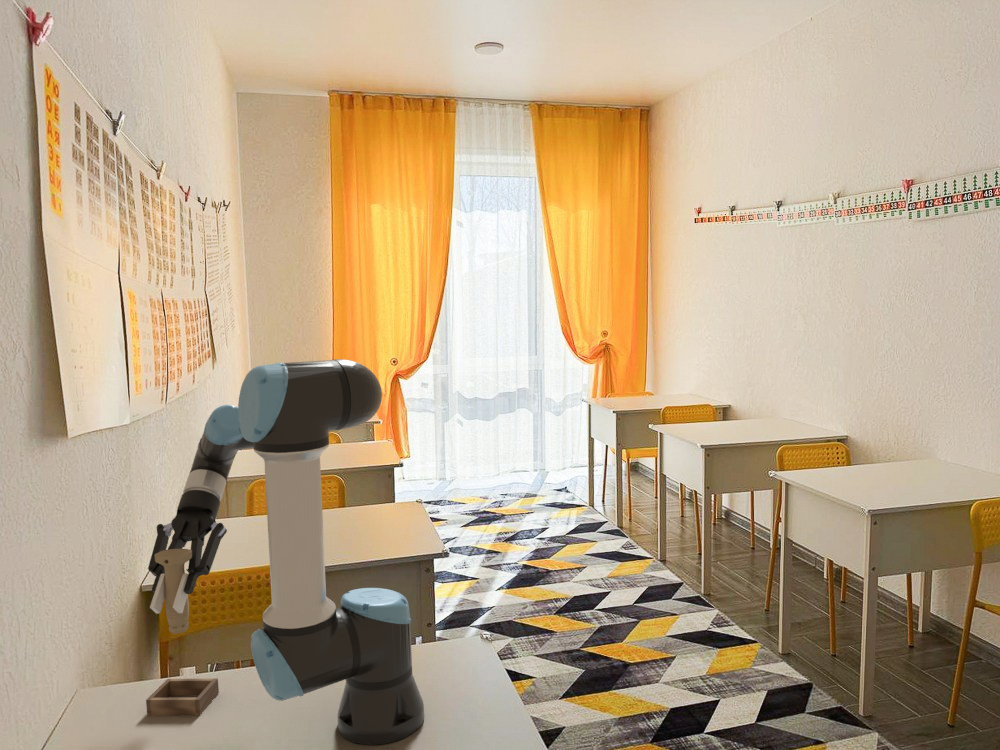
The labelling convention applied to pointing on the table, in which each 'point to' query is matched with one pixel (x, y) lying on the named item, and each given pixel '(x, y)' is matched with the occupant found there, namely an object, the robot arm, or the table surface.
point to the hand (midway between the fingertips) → (166, 610)
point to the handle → (174, 586)
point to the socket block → (182, 706)
